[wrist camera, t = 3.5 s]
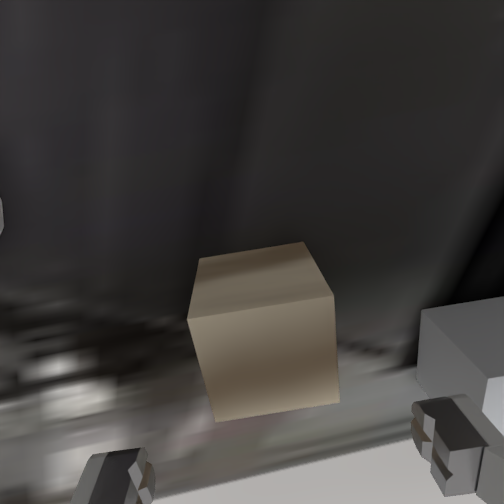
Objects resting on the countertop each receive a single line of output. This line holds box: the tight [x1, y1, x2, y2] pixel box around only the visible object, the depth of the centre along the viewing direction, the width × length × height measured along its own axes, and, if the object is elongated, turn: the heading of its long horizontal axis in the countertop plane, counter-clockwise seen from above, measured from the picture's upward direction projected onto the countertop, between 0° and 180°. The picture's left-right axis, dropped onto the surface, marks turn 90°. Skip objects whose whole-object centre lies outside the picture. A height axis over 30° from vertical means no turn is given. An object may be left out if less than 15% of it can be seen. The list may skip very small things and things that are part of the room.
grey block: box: [416, 296, 504, 436], centre depth 16 cm, size 5×5×5 cm
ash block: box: [187, 242, 340, 422], centre depth 14 cm, size 5×5×5 cm
